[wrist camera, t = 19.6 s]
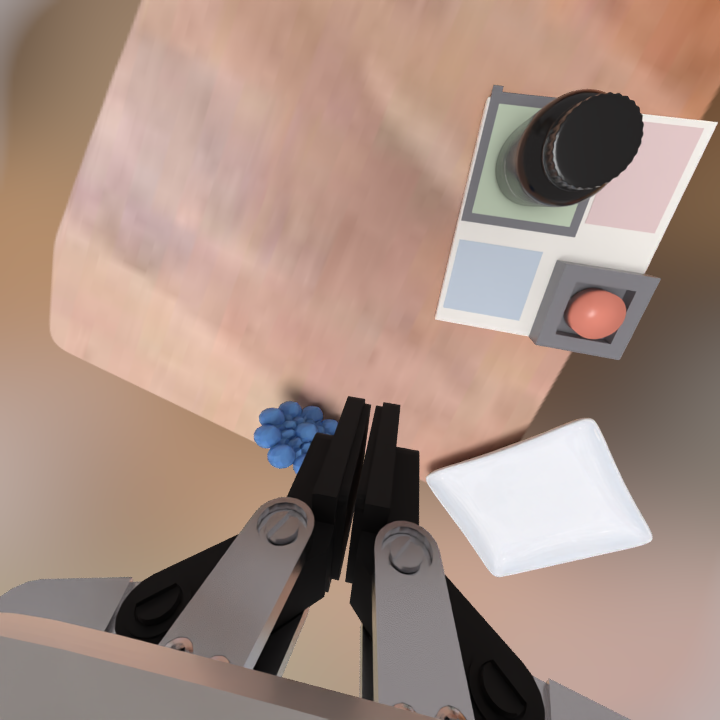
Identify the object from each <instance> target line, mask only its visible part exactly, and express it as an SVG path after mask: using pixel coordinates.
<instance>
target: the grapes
mask: <svg viewBox="0 0 720 720" xmlns="http://www.w3.org/2000/svg"><path fill="white" fill-rule="evenodd" d="M322 419H323V413H322V411H321V409H320V408H319V407H317V406H307V407H305V408H304V409H303V410H302V408H301V406H300V405H299V404H298V403H297V402H293V401H287V402H284V403H282V404H281V405H280V406H279V408H278V409H277V408H267V409H265V410H263V411H262V412H261V414H260V415H259V422H260V423H261V425H262V426H261V427H259V428H257V429H256V431H255V433H254V440H255V442H256V443H257V445H259V446H260V447H262V448H270V450H269V452H268V460H269V462H270V464H271V465H272V466H274V467H276V468H279V469H280V468H287V467H289V466H290V465H292V464H293V470H294V471H295V473H296V474H297V473H298V471H299V469H300V467H301V464H302V462H303V460H304V458H305V455H306V453H307V451H308V449H309V447H310V444H311V442H312V440H313V438H314V436H315V434H316V433H317V432H318V433H324V434H329V435H334V433H335V431H336V428H337V425H338V422H337V421H336V420H332V419H326V420H323V421H322ZM321 421H322V422H321Z"/></svg>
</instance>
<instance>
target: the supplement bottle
mask: <svg viewBox="0 0 720 720" xmlns="http://www.w3.org/2000/svg"><path fill="white" fill-rule="evenodd" d="M642 119H643V115H642V114H641V113H640V108H639V107H638V106H636V104H635V101H633V100H630V99H629V97H628V96H622V95H621V94H620V93H617V94H613V93H611V92H609V93H605V92H603V91H599V90H594V89H582V90H576V91H572V92H569V93H566V94H564V95H562V96H560V97H558V98H556V99H554V100H553V101H551V102H550V103H548V104H547V105H546V106H544V107H543V108H542V109H540V110H539V111H538V112H537V113H535V114H534V115H533V116H531V117H530V118H529V119H528V120H526V121H525V122H524V123H523V124H521V125H520V126H519V127H518V128H517V129H516V130H514V131H513V132H512V133H511V135H510V136H509V137H508V138H507V140H506V141H505V142H504V144H503V146H502V148H501V150H500V152H499V155H498V158H497V162H496V180H497V184H498V186H499V189H500V190H501V192H502V193H503V195H504V196H505V197H506V198H507V199H509V200H510V201H512V202H513V203H516V204H518V205H522V206H531V207H565V206H571V205H575V204H578V203H580V202H583V201H585V200H587V199H589V198H591V197H592V196H594V195H595V194H597V193H598V192H599V191H601V190H602V189H603V188H604V187H605V186H606V185H607V184H608V183H609V182H610V181H611V180H612V179H613V178H616V177H618V176H619V175H620V173H621V172H623V171H625V170H626V168H627V166H628V165H629V164H630V163H632V161H633V158H634V156H635V155H636V154H637V153H638V148H639V147H640V145H641V144H642V141H641V139H642V137H643V135H644V132H643V127H644V123H643V121H642Z"/></svg>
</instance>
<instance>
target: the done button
mask: <svg viewBox="0 0 720 720" xmlns="http://www.w3.org/2000/svg"><path fill="white" fill-rule="evenodd" d="M625 316H626V306H625V304H624V302H623V300H622V299H621V298H620V297H618V296H617V295H615V294H612V293H610V292H608V291H606V290H603V289H600V288H589V289H585V290H582V291H580V292H578V293H577V294H575V295H574V296H573V297H572V298H571V299H570V300H569V301H568V304H567V306H566V309H565V311H564V319H565V322H566V323H567V325H568V326H569V327H570V328H571V329H573V330H574V331H575V332H576V333H578V334H579V335H580V336H582V337H584V338H588V339H599V338H603V337H606V336H609V335H610V334H612V333H614V332H615V331H616V330H617V329H618V328H619V327H620V326H621V325H622V323H623V321H624V319H625Z"/></svg>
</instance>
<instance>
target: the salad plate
mask: <svg viewBox="0 0 720 720" xmlns="http://www.w3.org/2000/svg"><path fill="white" fill-rule="evenodd" d="M426 481H427V483H428V485H429V487H430V488H431V490H432V491H433V493H434V494H435V496H436V497H437V498H438V500H439V501H440V502H441V504H442V505H443V507H444V508H445V509H446V511H447V512H448V513H449V515H450V516H451V517H452V519H453V520H454V521H455V523H456V524H457V525H458V527H459V528H460V529H461V531H462V532H463V534H464V535H465V536H466V538H467V539H468V541H469V542H470V544H471V545H472V546H473V548H474V549H475V551H476V552H477V553H478V555H479V557H480V558H481V560H482V561H483V563H484V564H485V566H486V567H487V568H488V570H489V571H490V572H491V574H493V575H494V576H496V577H502V576H508V575H513V574H517V573H522V572H526V571H531V570H535V569H539V568H544V567H548V566H553V565H557V564H562V563H566V562H571V561H575V560H580V559H584V558H588V557H593V556H597V555H602V554H606V553H611V552H615V551H620V550H625V549H629V548H634V547H637V546H640V545H644V544H646V543H649V542H650V541H652V533H651V531H650V529H649V527H648V525H647V523H646V521H645V519H644V518H643V516H642V514H641V512H640V511H639V509H638V507H637V505H636V503H635V502H634V500H633V498H632V496H631V495H630V493H629V491H628V489H627V487H626V485H625V483H624V481H623V479H622V477H621V475H620V473H619V470H618V468H617V466H616V464H615V461H614V459H613V457H612V455H611V452H610V450H609V448H608V445H607V443H606V441H605V439H604V437H603V434H602V432H601V430H600V429H599V426H598V425H597V423H596V422H595V421H594V420H593V419H591V418H580V419H575V420H573V421H570V422H567V423H565V424H562V425H560V426H557V427H555V428H553V429H550V430H548V431H545V432H543V433H540V434H538V435H535V436H532V437H530V438H528V439H525V440H522V441H519V442H517V443H514V444H511V445H508V446H506V447H503V448H500V449H497V450H495V451H492V452H489V453H486V454H483V455H480V456H477V457H474V458H471V459H468V460H465V461H462V462H459V463H455V464H452V465H449V466H445V467H442V468H440V469H437V470H435V471H433V472H431V473H430V474H428V476H427V477H426Z"/></svg>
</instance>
